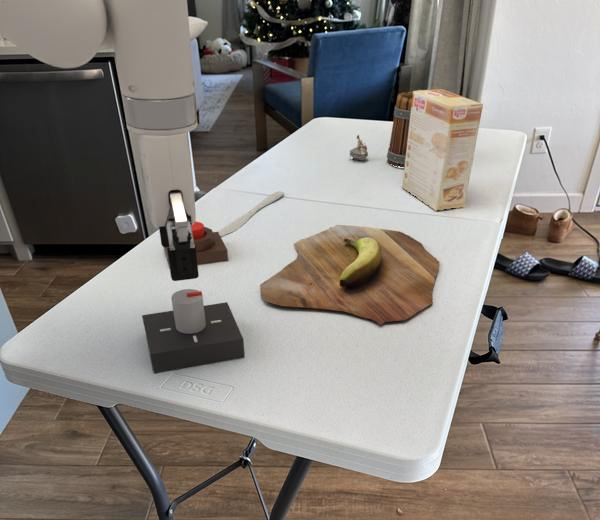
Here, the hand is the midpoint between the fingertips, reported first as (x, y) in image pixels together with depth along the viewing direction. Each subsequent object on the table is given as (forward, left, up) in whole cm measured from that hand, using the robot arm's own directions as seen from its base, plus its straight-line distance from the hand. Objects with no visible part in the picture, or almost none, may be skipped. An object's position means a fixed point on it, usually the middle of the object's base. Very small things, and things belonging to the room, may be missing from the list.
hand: (179, 261), depth 72 cm
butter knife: (+19, +42, -12) cm, 48 cm away
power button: (+5, +27, -8) cm, 29 cm away
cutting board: (+30, +14, -12) cm, 35 cm away
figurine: (+53, +69, -12) cm, 88 cm away
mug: (+65, +65, -12) cm, 93 cm away
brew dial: (0, -1, -9) cm, 9 cm away
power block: (+5, +27, -12) cm, 30 cm away
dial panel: (0, -1, -12) cm, 12 cm away
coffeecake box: (+58, +40, -12) cm, 72 cm away
